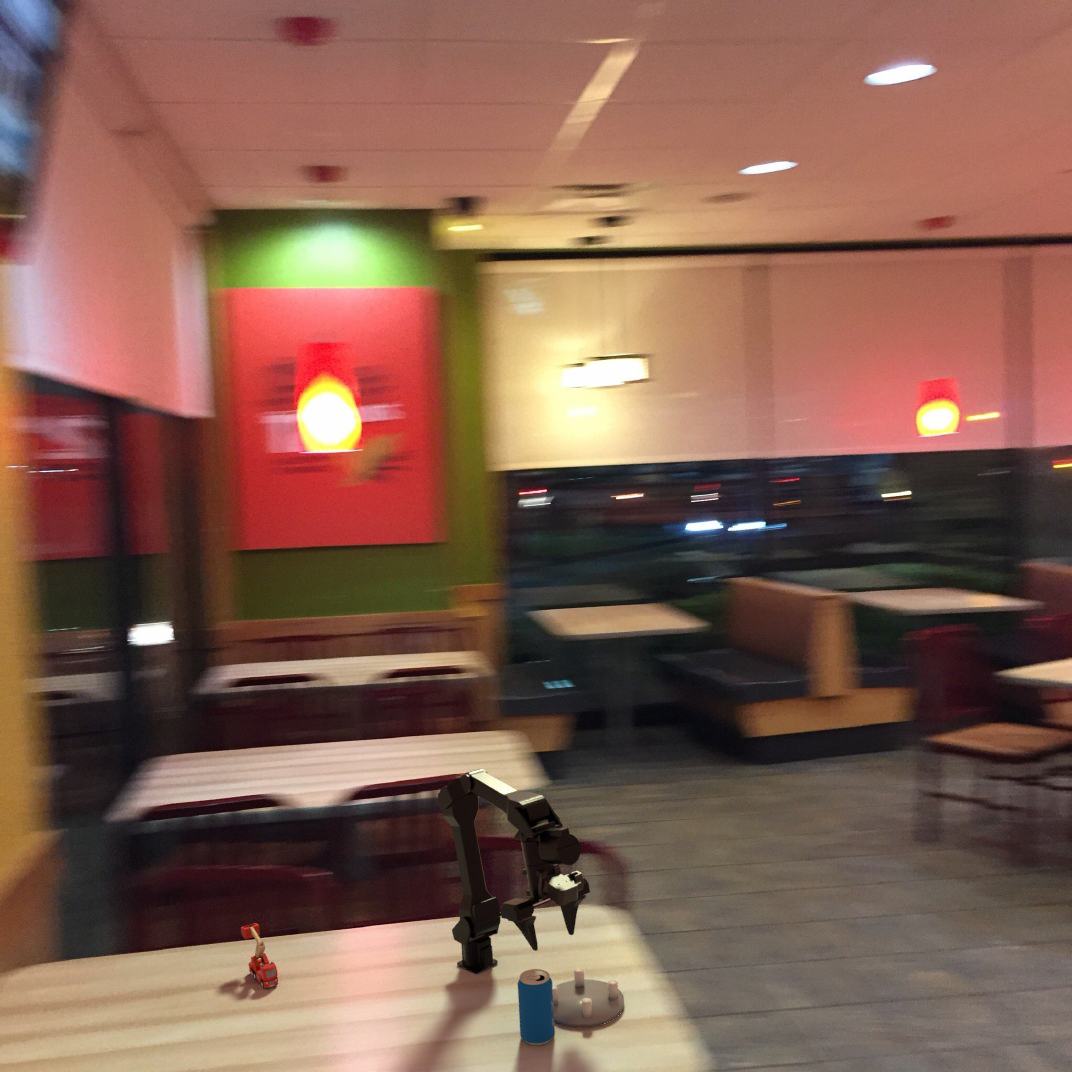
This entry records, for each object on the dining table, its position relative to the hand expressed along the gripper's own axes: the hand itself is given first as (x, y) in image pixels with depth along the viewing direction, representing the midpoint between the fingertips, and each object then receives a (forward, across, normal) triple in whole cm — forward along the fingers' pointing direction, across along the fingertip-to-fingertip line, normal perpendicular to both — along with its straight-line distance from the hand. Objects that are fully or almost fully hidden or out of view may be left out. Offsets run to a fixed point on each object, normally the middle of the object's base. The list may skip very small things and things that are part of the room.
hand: (553, 942), depth 203 cm
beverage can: (+15, -9, -1) cm, 17 cm away
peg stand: (+14, +5, +1) cm, 15 cm away
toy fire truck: (+2, -36, +58) cm, 68 cm away
